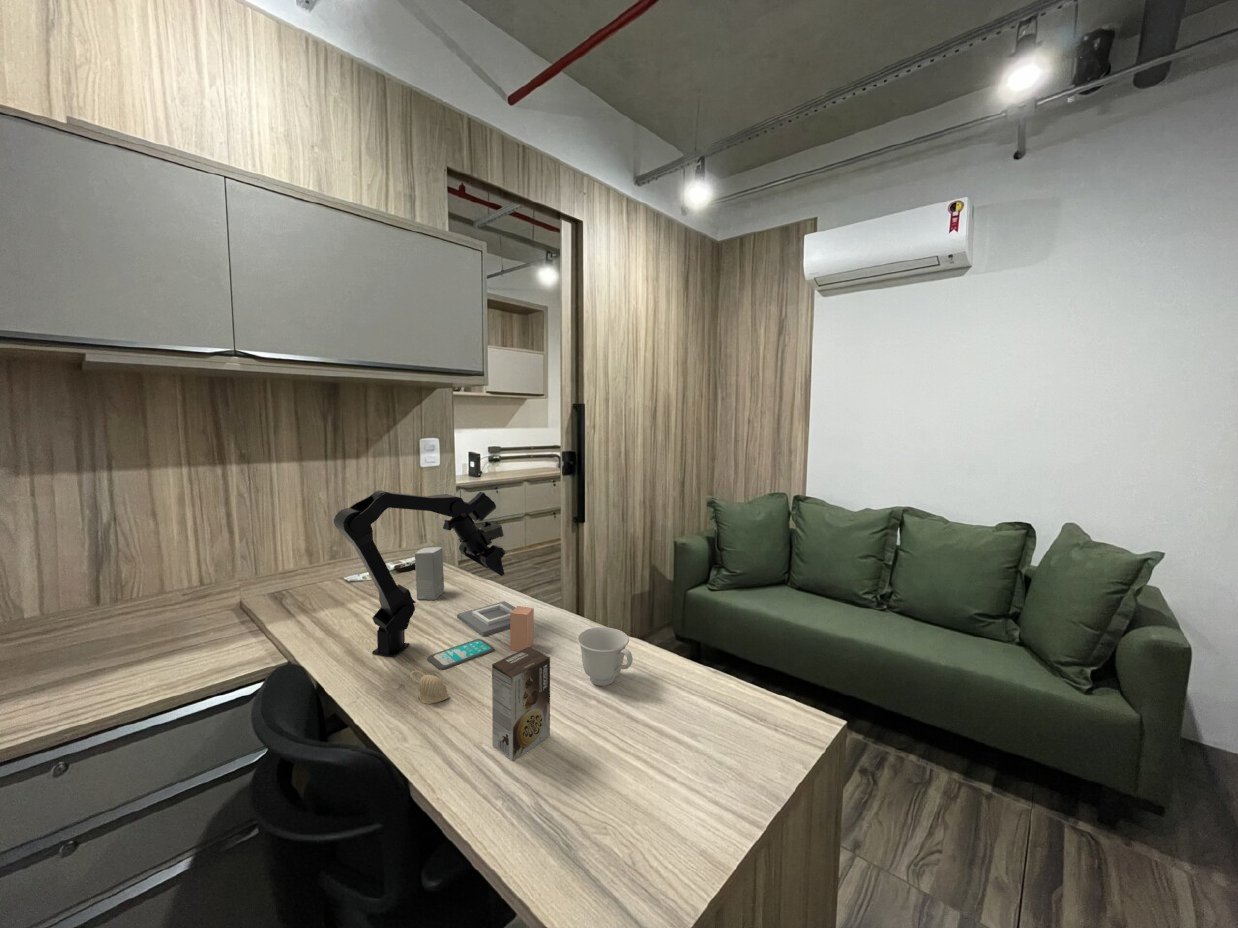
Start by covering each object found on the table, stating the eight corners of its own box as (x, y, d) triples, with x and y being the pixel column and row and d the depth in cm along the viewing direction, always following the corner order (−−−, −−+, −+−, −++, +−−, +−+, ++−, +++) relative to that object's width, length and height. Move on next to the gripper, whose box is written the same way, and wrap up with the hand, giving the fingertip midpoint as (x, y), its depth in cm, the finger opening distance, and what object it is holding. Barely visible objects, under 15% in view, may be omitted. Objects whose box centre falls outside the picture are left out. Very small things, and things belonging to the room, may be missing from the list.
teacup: (610, 705, 103) (612, 661, 102) (565, 678, 113) (566, 637, 112) (647, 684, 111) (649, 642, 110) (602, 660, 122) (603, 622, 121)
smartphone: (424, 655, 120) (479, 637, 131) (425, 659, 121) (479, 640, 131) (440, 669, 114) (496, 648, 125) (440, 673, 115) (496, 651, 125)
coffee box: (528, 722, 96) (529, 645, 95) (550, 736, 92) (552, 656, 91) (490, 745, 89) (490, 662, 88) (512, 762, 85) (513, 675, 84)
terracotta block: (526, 651, 125) (527, 614, 124) (510, 649, 126) (510, 612, 125) (533, 643, 130) (533, 607, 129) (517, 641, 131) (517, 606, 130)
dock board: (483, 636, 133) (483, 628, 133) (457, 617, 145) (457, 610, 144) (532, 620, 144) (532, 613, 144) (504, 604, 156) (504, 598, 155)
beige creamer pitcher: (437, 707, 101) (436, 683, 100) (407, 697, 104) (407, 673, 103) (451, 697, 104) (451, 673, 104) (422, 687, 108) (421, 664, 107)
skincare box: (435, 600, 157) (435, 553, 156) (413, 599, 157) (413, 552, 156) (445, 591, 166) (445, 546, 164) (424, 590, 166) (424, 545, 164)
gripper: (505, 519, 135) (531, 559, 141) (476, 509, 149) (501, 546, 155) (473, 545, 129) (502, 586, 136) (446, 532, 143) (473, 570, 150)
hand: (495, 571), depth 144 cm, fingers open, 9 cm apart
